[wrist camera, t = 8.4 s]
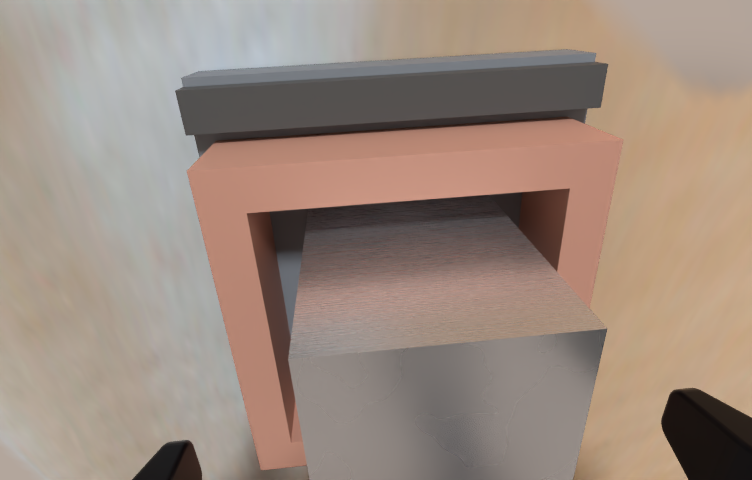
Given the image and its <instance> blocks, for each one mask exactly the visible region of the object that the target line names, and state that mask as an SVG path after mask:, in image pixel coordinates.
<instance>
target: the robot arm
mask: <svg viewBox="0 0 752 480" xmlns="http://www.w3.org/2000/svg"><path fill="white" fill-rule="evenodd" d="M661 424H662V429H663V432H664V434H665V436H666V438H667V440H668V442H669V444H670V446H671V448H672V449H673V451H674V453H675V455H676V457H677V459H678V461H679V463H680V464H681V466H682V468H683V470H684V472H685V474H686V476H687V478H688V480H752V418H751V417H749V416H747V415H746V414H744V413H742V412H740V411H738V410H736V409H734V408H733V407H731V406H729V405H727V404H725V403H723V402H721V401H720V400H718V399H716V398H714V397H712V396H710V395H709V394H707V393H705V392H703V391H701V390H699V389H696V388H685V389H676V390H673V391H672V392H671V393H670V395H669V398H668V401H667V404H666V407H665V410H664V413H663V416H662V420H661ZM132 480H202V471H201V467H200V464H199V461H198V458H197V455H196V452H195V449H194V446H193V444H192V442H190V441H189V440H183V441H173V442H168V443H166V444H165V445H163V446H162V447H161V448H160V450H159V451H158V452H157V453H156V454H155V455H154V456H153V457H152V458H151V459H150V461H149V462H148V463H147V464H146V465H145V466H144V467H143V468H142V469H141V470H140V472H139V473H138V474H137V475H136V476H135V477H134V478H133V479H132Z"/></svg>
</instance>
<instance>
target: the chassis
mask: <svg viewBox="0 0 752 480" xmlns="http://www.w3.org/2000/svg"><path fill="white" fill-rule="evenodd" d="M595 57H596V53H592V52H584V51H576V50H568V49H566V50H549V51H532V52H515V53H499V54H482V55H465V56H448V57H432V58H415V59H398V60H381V61H364V62H348V63H331V64H314V65H297V66H281V67H264V68H247V69H230V70H214V71H198V72H196V73H193V74H191V75H188V76H185V77H183V78H181V79H182V84H183V87H182V88H180V89H178V90H176V91H175V92H176V96H177V100H178V104H179V109H180V113H181V117H182V121H183V125H184V130H185V134H186V135H194V136H195V140H196V144H197V149H198V153H199V157H200V158H199V159H198V160H197V161H196V162H195V163H194V164H193V165H192V166H191V167H190V168H189V169H188V170H187V174H188V178H189V182H190V186H191V190H192V194H193V198H194V202H195V206H196V210H197V214H198V218H199V222H200V226H201V230H202V234H203V238H204V242H205V246H206V250H207V254H208V258H209V263H210V267H211V271H212V275H213V279H214V283H215V287H216V291H217V295H218V299H219V303H220V307H221V311H222V315H223V319H224V323H225V327H226V331H227V335H228V339H229V343H230V347H231V351H232V355H233V359H234V363H235V367H236V372H237V376H238V380H239V384H240V388H241V392H242V396H243V400H244V404H245V408H246V412H247V416H248V420H249V424H250V428H251V432H252V436H253V440H254V444H255V448H256V452H257V456H258V460H259V464H260V468H261V470H269V469H278V468H287V467H296V466H306V465H307V462H306V457H305V451H304V445H303V440H302V434H301V429H300V423H299V417H298V412H297V406H296V401H295V395H294V390H293V384H292V378H291V373H290V367H289V362H288V357H289V349H290V342H291V334H292V327H293V319H294V312H295V304H296V297H297V290H298V282H299V275H300V267H301V260H302V252H303V245H304V237H305V230H306V222H307V215H308V209H314V208H327V207H340V206H352V205H365V204H378V203H390V202H403V201H416V200H428V199H441V198H454V197H467V196H479V195H490V197H491V198H492V199H493V200H494V201H495V202H496V203H497V205H498V206H499V207H500V208H501V209H502V210H503V211H504V212H505V214H506V215H507V216H508V217H509V218H510V219H511V220H512V222H513V223H514V224H515V225H516V226H517V227H518V228H519V229H520V231H521V232H522V233H523V234H524V235H525V236H526V237H527V238H528V240H529V241H530V242H531V243H532V244H533V245H534V246H535V248H536V249H537V250H538V251H539V252H540V253H541V254H542V255H543V257H544V258H545V259H546V260H547V261H548V262H549V263H550V265H551V266H552V267H553V268H554V269H555V270H556V271H557V272H558V274H559V275H560V276H561V277H562V278H563V279H564V280H565V281H566V283H567V284H568V285H569V286H570V287H571V288H572V289H573V291H574V292H575V293H576V294H577V295H578V296H579V297H580V298H581V300H582V301H583V302H584V303H585V304H586V305H587V306H588V308H590V303H591V298H592V293H593V288H594V283H595V278H596V273H597V268H598V263H599V258H600V254H601V249H602V244H603V239H604V234H605V229H606V224H607V219H608V214H609V209H610V204H611V199H612V194H613V189H614V184H615V179H616V174H617V169H618V164H619V159H620V154H621V149H622V144H623V139H620V138H618V137H615V136H613V135H611V134H608V133H606V132H603V131H601V130H599V129H596V128H594V127H591V126H589V125H587V124H585V120H586V114H587V108H601V102H602V96H603V91H604V85H605V79H606V73H607V67H608V64H605V63H599V62H595Z"/></svg>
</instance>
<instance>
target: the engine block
mask: <svg viewBox="0 0 752 480" xmlns="http://www.w3.org/2000/svg"><path fill="white" fill-rule="evenodd" d="M606 332H607V328H606V327H605V326H604V324H603V323H602V322H601V321H600V320H599V319H598V318H597V317H596V315H595V314H594V313H593V312H592V311H591V310H590V309H589V308H588V306H587V305H586V304H585V303H584V302H583V301H582V300H581V298H580V297H579V296H578V295H577V294H576V293H575V292H574V291H573V289H572V288H571V287H570V286H569V285H568V284H567V283H566V281H565V280H564V279H563V278H562V277H561V276H560V275H559V274H558V272H557V271H556V270H555V269H554V268H553V267H552V266H551V265H550V263H549V262H548V261H547V260H546V259H545V258H544V257H543V255H542V254H541V253H540V252H539V251H538V250H537V249H536V248H535V246H534V245H533V244H532V243H531V242H530V241H529V240H528V238H527V237H526V236H525V235H524V234H523V233H522V232H521V231H520V229H519V228H518V227H517V226H516V225H515V224H514V223H513V222H512V220H511V219H510V218H509V217H508V216H507V215H506V214H505V212H504V211H503V210H502V209H501V208H500V207H499V206H498V205H497V203H496V202H495V201H494V200H493V199H492V198H491V197H490V195H479V196H467V197H454V198H441V199H428V200H416V201H403V202H390V203H378V204H365V205H352V206H340V207H327V208H314V209H308V215H307V222H306V230H305V237H304V245H303V252H302V260H301V267H300V275H299V282H298V290H297V297H296V304H295V312H294V319H293V327H292V334H291V342H290V349H289V357H288V362H289V367H290V373H291V378H292V384H293V390H294V395H295V401H296V406H297V412H298V417H299V423H300V429H301V434H302V440H303V445H304V451H305V457H306V462H307V468H308V473H309V479H310V480H573V478H574V473H575V469H576V464H577V460H578V456H579V451H580V447H581V442H582V438H583V433H584V429H585V425H586V420H587V416H588V411H589V407H590V403H591V398H592V394H593V389H594V385H595V380H596V376H597V372H598V367H599V363H600V358H601V354H602V350H603V345H604V341H605V336H606Z"/></svg>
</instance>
